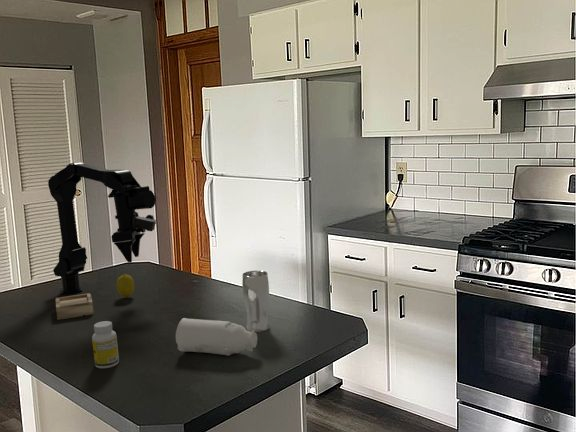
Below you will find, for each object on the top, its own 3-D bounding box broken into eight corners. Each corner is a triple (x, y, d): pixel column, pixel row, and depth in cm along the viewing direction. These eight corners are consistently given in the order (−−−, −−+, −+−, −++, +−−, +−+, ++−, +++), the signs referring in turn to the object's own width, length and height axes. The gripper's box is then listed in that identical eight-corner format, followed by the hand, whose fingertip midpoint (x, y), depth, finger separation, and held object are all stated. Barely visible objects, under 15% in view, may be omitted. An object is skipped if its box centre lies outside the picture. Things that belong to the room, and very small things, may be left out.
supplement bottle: (98, 360, 134) (94, 320, 133) (121, 358, 135) (117, 319, 133) (92, 370, 129) (87, 328, 128) (116, 368, 130) (112, 327, 128)
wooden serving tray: (56, 309, 174) (55, 298, 173) (91, 304, 178) (90, 293, 177) (57, 319, 165) (56, 307, 164) (93, 314, 168) (92, 301, 168)
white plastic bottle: (249, 363, 129) (247, 330, 128) (175, 356, 135) (173, 324, 134) (261, 350, 137) (260, 318, 135) (191, 343, 143) (189, 313, 141)
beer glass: (274, 324, 153) (272, 270, 151) (265, 334, 147) (262, 277, 144) (250, 322, 156) (247, 269, 153) (240, 331, 149) (237, 276, 147)
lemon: (130, 300, 180) (128, 276, 179) (114, 300, 181) (112, 275, 180) (138, 295, 186) (136, 271, 184) (122, 295, 187) (120, 271, 185)
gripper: (144, 210, 168) (152, 261, 170) (157, 204, 187) (164, 250, 189) (107, 215, 168) (115, 266, 170) (123, 208, 187) (131, 255, 188)
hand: (133, 259), depth 179 cm, fingers open, 9 cm apart
